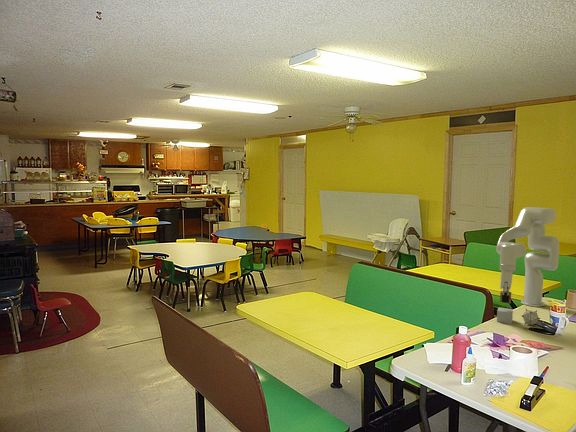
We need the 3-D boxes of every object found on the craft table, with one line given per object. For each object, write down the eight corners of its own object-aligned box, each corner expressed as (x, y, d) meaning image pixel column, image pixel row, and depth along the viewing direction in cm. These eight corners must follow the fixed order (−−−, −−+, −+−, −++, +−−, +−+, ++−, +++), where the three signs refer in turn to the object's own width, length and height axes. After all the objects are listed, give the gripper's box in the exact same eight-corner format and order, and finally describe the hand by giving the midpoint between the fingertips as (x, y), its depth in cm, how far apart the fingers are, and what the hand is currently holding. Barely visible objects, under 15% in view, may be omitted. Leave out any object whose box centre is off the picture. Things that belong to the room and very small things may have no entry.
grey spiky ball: (532, 331, 221) (545, 316, 220) (532, 330, 214) (545, 315, 213) (516, 319, 226) (529, 305, 225) (516, 318, 219) (528, 303, 218)
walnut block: (500, 299, 228) (500, 290, 228) (510, 301, 225) (511, 292, 225) (499, 302, 224) (500, 292, 223) (510, 303, 221) (510, 294, 221)
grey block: (497, 317, 231) (498, 307, 230) (512, 320, 227) (512, 309, 226) (496, 321, 225) (497, 310, 224) (511, 324, 221) (512, 313, 220)
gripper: (500, 264, 232) (498, 296, 234) (498, 269, 217) (496, 303, 219) (516, 265, 228) (514, 298, 230) (514, 271, 214) (512, 306, 215)
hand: (505, 300), depth 224 cm, fingers closed on walnut block, 4 cm apart
